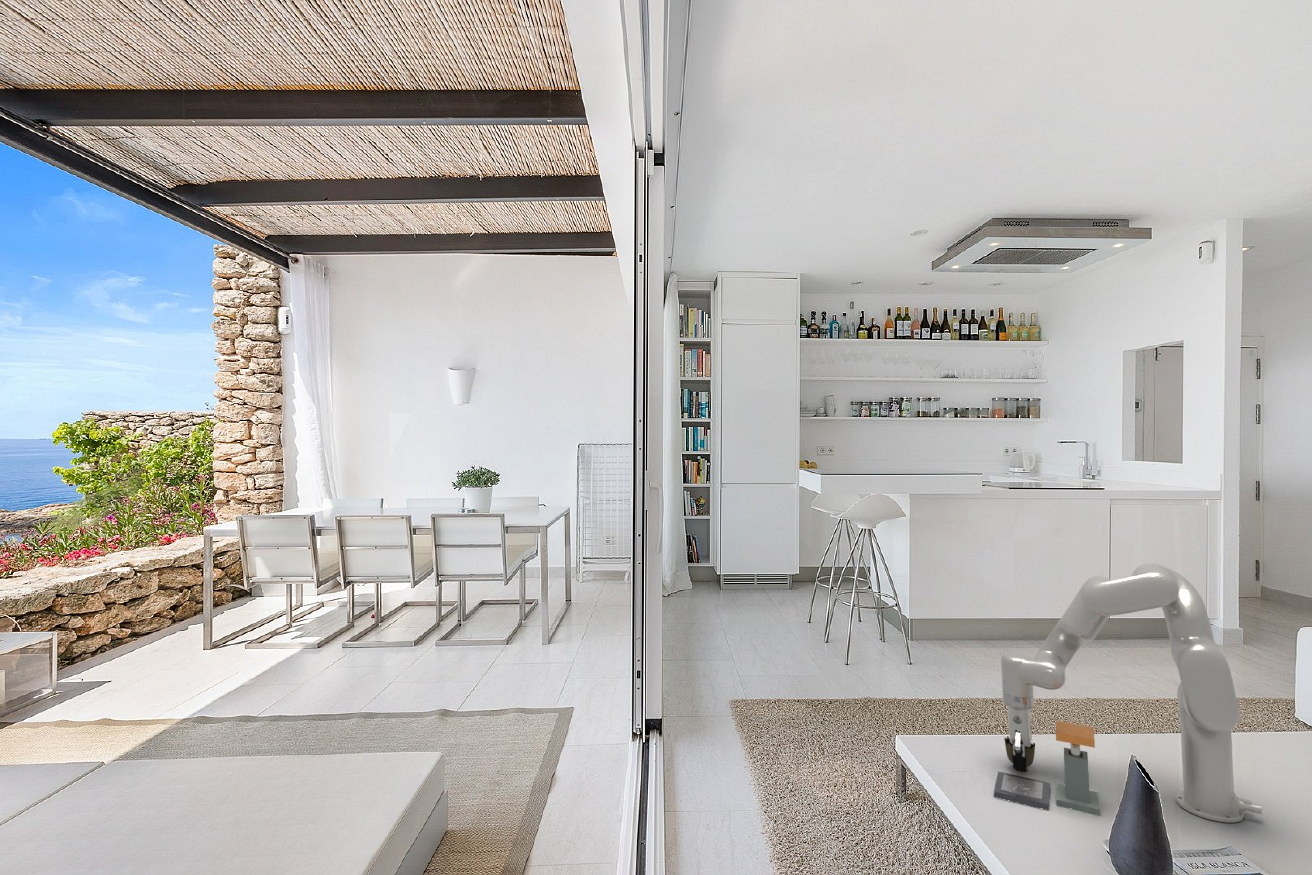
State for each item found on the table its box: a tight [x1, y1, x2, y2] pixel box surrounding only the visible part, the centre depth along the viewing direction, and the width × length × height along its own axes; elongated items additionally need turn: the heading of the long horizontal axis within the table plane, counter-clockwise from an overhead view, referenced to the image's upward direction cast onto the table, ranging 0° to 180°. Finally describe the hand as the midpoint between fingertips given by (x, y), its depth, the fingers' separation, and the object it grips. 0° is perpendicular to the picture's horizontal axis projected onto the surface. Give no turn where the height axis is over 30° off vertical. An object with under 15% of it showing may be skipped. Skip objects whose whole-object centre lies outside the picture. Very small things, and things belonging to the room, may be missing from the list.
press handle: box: [1055, 720, 1096, 757], centre depth 161 cm, size 8×8×12 cm
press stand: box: [1055, 747, 1101, 817], centre depth 161 cm, size 9×9×12 cm
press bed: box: [993, 771, 1051, 811], centre depth 165 cm, size 12×12×2 cm
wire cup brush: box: [1003, 736, 1036, 773], centre depth 177 cm, size 8×7×8 cm
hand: (1020, 763), depth 177 cm, fingers closed on wire cup brush, 6 cm apart
